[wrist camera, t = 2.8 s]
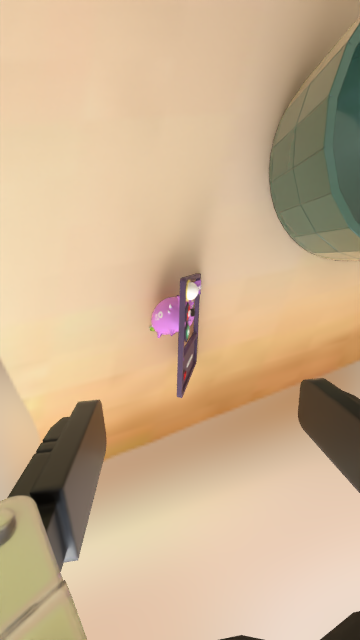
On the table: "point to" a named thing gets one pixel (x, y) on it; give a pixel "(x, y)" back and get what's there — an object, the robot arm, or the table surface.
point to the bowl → (322, 156)
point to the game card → (181, 326)
